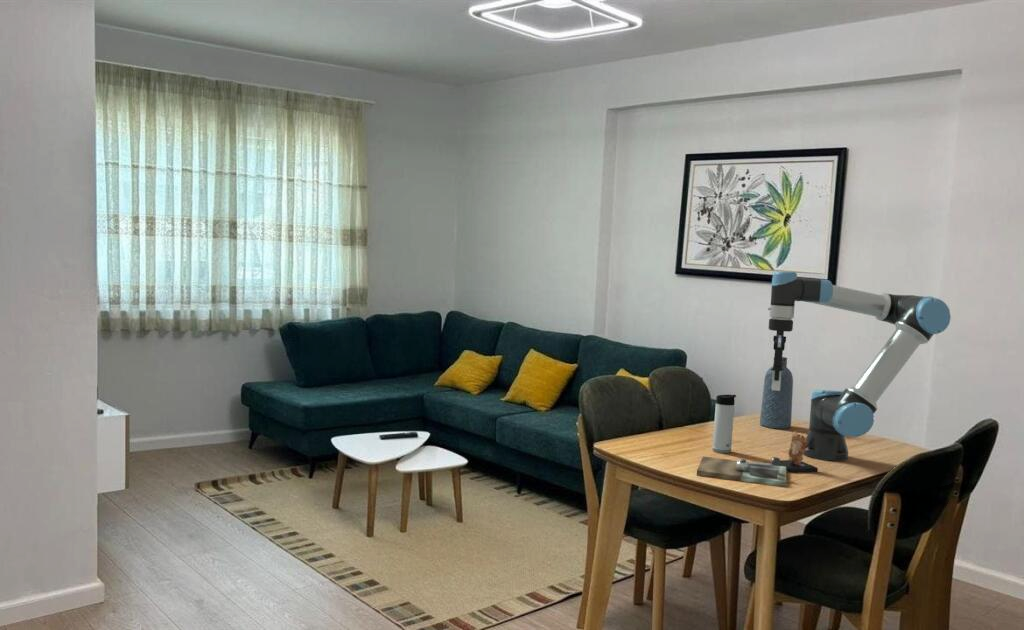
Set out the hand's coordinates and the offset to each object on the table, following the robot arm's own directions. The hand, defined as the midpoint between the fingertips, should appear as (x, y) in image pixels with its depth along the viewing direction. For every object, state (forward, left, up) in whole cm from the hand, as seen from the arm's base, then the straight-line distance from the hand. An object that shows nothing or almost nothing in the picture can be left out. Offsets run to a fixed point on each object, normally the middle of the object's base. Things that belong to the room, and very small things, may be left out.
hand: (775, 390), depth 277 cm
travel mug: (+16, -9, -25) cm, 31 cm away
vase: (-1, -68, -25) cm, 72 cm away
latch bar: (+4, +21, -23) cm, 31 cm away
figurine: (-8, +3, -25) cm, 26 cm away
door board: (+8, +19, -24) cm, 32 cm away
